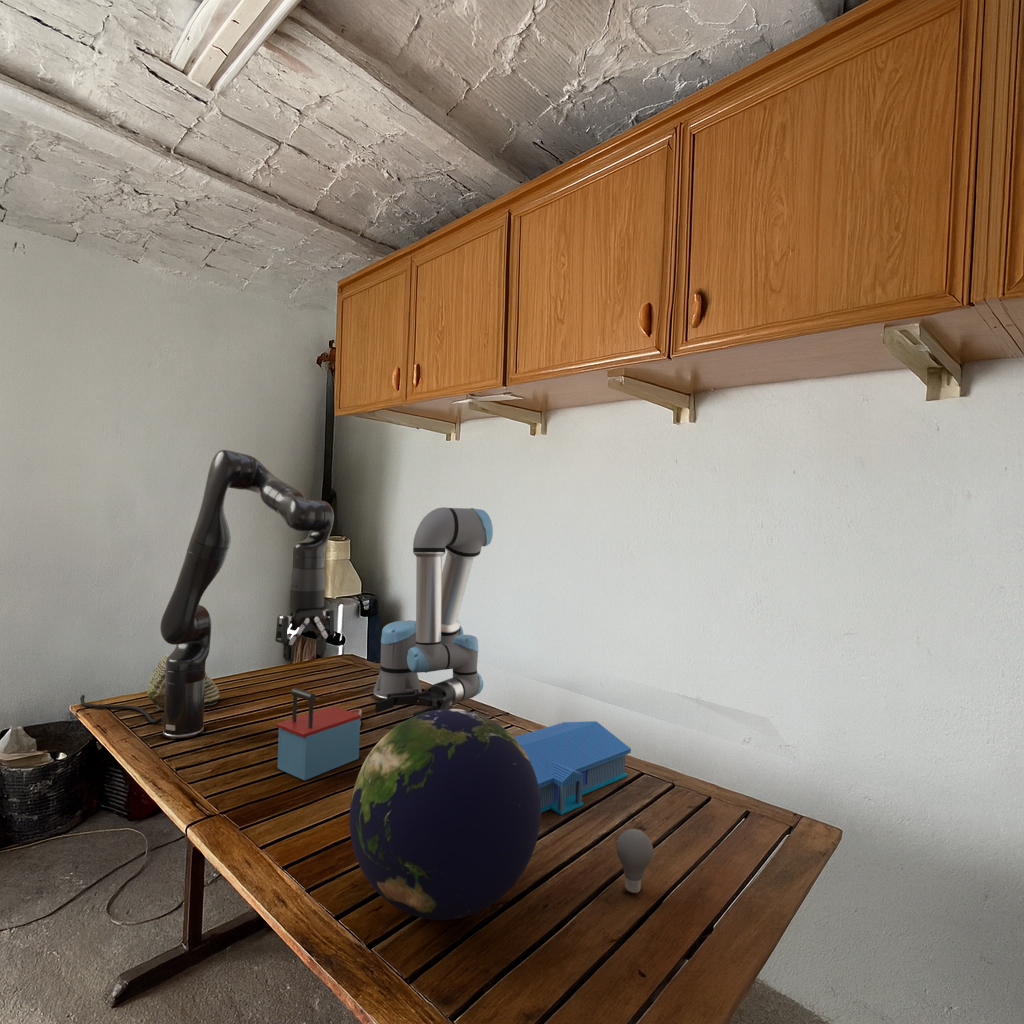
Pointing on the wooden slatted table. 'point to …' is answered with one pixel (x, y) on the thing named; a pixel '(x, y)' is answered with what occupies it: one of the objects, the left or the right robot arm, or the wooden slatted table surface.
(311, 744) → the chest
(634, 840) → the light bulb
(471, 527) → the right robot arm
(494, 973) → the wooden slatted table surface
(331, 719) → the lid
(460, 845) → the globe
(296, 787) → the wooden slatted table surface
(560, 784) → the model building
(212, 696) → the fossil
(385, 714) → the wooden slatted table surface
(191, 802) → the wooden slatted table surface
